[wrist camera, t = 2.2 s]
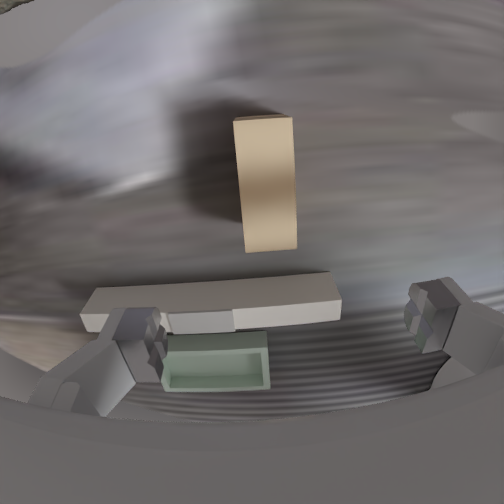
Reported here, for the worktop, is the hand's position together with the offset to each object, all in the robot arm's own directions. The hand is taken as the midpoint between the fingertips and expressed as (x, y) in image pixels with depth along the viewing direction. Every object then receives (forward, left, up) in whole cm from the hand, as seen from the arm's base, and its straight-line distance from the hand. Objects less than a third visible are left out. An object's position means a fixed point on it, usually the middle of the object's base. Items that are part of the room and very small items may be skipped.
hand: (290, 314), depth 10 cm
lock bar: (0, 0, -20) cm, 20 cm away
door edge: (-5, +13, -20) cm, 24 cm away
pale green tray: (-12, +20, -20) cm, 31 cm away
